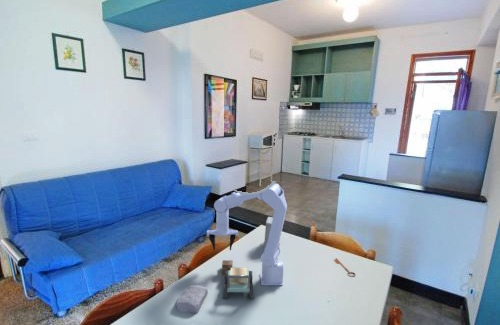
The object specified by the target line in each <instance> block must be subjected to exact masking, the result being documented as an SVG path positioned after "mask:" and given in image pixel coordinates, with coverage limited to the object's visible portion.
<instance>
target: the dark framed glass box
mask: <svg viewBox="0 0 500 325" xmlns="http://www.w3.org/2000/svg"><path fill="white" fill-rule="evenodd" d="M228 293H249V299H250V298H251V299H253V298H254V284H253V270H248V268H247V267H232V268H231V270H229V272H228V271H225V276H224V284H223V292H222V294H223V298H224V299H228Z"/></svg>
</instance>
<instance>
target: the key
mask: <svg viewBox="0 0 500 325" xmlns="http://www.w3.org/2000/svg"><path fill="white" fill-rule="evenodd" d="M333 262H334V263H335V264H337V265H341V266H342V268H344V270H345V271H347V276H348V277H349V278H350V277H352V278H354V277H355V276H356V273H355V272H352V271H350V270H349V268H347V267H346V266H345V265H344V264H343V263H342V262H341V261H340V260H339V259H338V258H335V259H333ZM349 274H350V275H349ZM351 274H353V275H351Z"/></svg>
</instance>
